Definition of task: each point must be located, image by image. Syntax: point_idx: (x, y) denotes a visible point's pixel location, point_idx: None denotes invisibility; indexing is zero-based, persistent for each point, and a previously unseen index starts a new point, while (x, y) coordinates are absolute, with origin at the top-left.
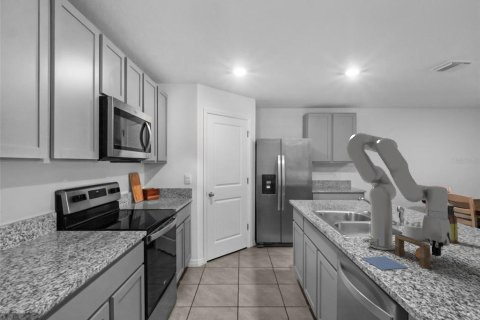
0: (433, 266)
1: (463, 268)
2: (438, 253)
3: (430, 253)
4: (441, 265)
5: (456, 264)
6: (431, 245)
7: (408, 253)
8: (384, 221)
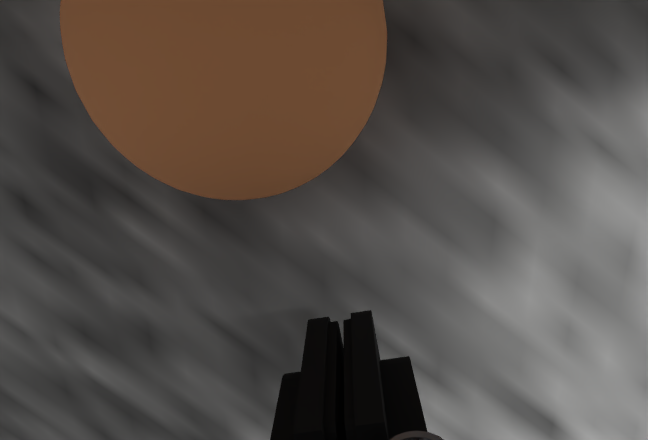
0: (15, 49)
1: (32, 409)
2: (285, 389)
3: (147, 172)
4: (83, 210)
5: (152, 425)
6: (403, 436)
7: (606, 18)
8: None
